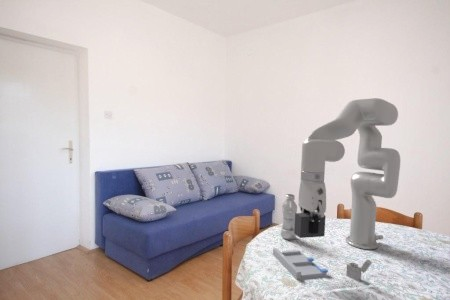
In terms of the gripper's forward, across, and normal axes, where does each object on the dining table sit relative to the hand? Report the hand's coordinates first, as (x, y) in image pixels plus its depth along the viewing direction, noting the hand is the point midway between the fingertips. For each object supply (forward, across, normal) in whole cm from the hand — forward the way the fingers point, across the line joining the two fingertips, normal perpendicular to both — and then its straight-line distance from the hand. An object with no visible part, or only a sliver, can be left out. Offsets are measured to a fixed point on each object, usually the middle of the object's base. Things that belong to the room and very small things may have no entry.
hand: (309, 229), depth 90 cm
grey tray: (+14, +4, +1) cm, 15 cm away
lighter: (+15, -9, -13) cm, 21 cm away
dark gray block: (+2, 0, 0) cm, 2 cm away
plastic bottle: (+15, +28, -7) cm, 32 cm away
